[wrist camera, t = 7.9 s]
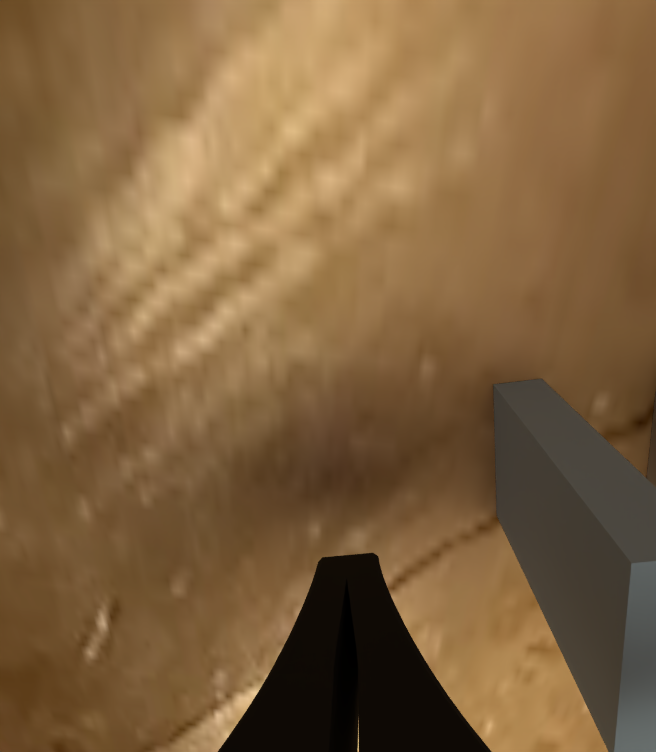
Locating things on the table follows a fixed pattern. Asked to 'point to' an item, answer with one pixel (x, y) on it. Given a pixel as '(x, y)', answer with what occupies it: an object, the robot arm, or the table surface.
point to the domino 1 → (583, 552)
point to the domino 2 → (652, 451)
